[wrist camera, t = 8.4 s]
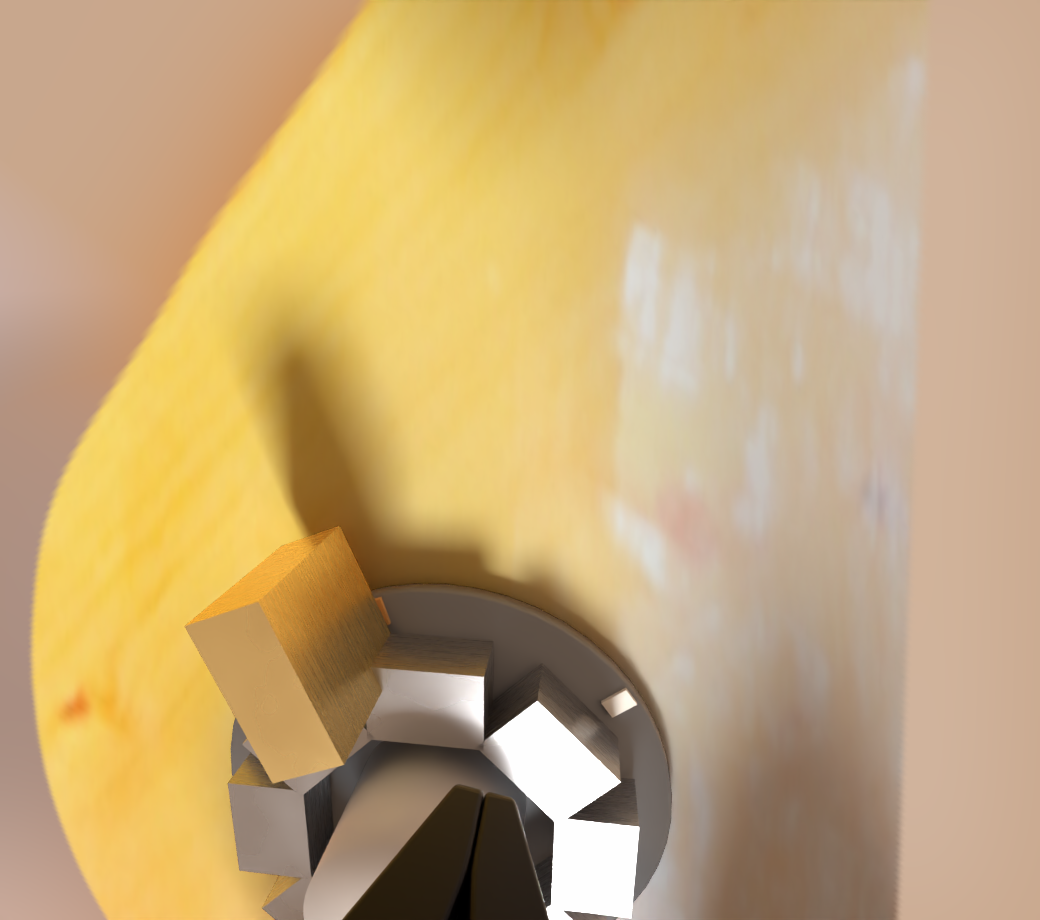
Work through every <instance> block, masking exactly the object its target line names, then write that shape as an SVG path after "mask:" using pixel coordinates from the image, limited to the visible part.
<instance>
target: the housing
mask: <svg viewBox="0 0 1040 920" xmlns="http://www.w3.org/2000/svg"><path fill="white" fill-rule="evenodd" d="M371 592H372V594H373V596H374V599H375V601H376V603H377V605H378V607H379V609H380V611H381V613H382V615H383V617H384V619H385V622H386V624H387V626H388V628H389V630H390V632H391V633H401V634H413V635H426V636H439V637H452V638H464V639H477V640H490V641H494V672H493V700H495V699H496V698H497V697H498V696H500V695H501V694H502V693H504V692H505V691H506V690H508V689H509V688H510V687H511V686H513V685H514V684H515V683H517V682H518V681H519V680H520V679H522V678H523V677H524V676H526V675H527V674H528V673H530V672H531V671H532V670H533V669H535V668H536V667H537V666H539V665H540V664H541V663H543V664H544V665H545V666H546V667H547V668H548V669H549V670H550V671H551V672H552V673H553V674H554V675H555V676H556V677H557V678H558V679H559V680H560V681H561V682H562V683H563V684H564V685H565V686H566V687H567V688H568V689H570V690H571V691H572V692H573V693H574V694H575V695H576V696H577V697H578V698H579V699H580V700H581V701H582V702H583V703H584V704H585V705H586V706H587V707H588V708H589V709H590V710H591V711H592V712H593V713H594V714H595V715H596V716H597V717H598V718H599V719H600V720H601V721H602V722H603V723H604V724H605V725H606V726H607V727H608V728H609V729H610V730H611V731H612V732H613V733H614V734H615V735H616V736H617V737H618V747H619V763H620V777H621V778H631V779H635V787H636V798H637V809H638V820H639V834H638V846H637V857H636V868H635V879H634V891H633V902H634V901H635V900H636V899H637V897H638V896H639V895H640V894H641V893H642V891H643V890H644V889H645V888H646V886H647V884H648V883H649V881H650V879H651V877H652V876H653V874H654V872H655V871H656V869H657V867H658V865H659V862H660V860H661V857H662V854H663V852H664V849H665V846H666V843H667V838H668V833H669V828H670V823H671V805H672V793H671V785H670V778H669V771H668V764H667V758H666V754H665V750H664V747H663V744H662V740H661V737H660V734H659V730H658V728H657V726H656V724H655V722H654V720H653V717H652V715H651V713H650V711H649V709H648V707H647V705H646V703H645V702H644V700H643V699H642V697H641V696H640V694H639V693H638V691H637V690H636V688H635V687H634V685H633V684H632V682H631V681H630V680H629V679H628V677H627V676H626V675H625V674H624V673H623V672H622V670H621V669H620V668H619V667H618V666H617V665H616V664H615V662H614V661H613V660H612V659H611V658H610V657H609V656H607V655H606V654H605V653H604V652H603V651H602V650H601V649H600V648H598V647H597V646H596V645H595V644H594V643H593V642H592V641H591V640H589V639H588V638H587V637H585V636H584V635H582V634H581V633H579V632H578V631H576V630H575V629H574V628H572V627H571V626H569V625H568V624H566V623H565V622H563V621H561V620H559V619H558V618H556V617H554V616H552V615H550V614H548V613H546V612H544V611H542V610H540V609H539V608H537V607H534V606H532V605H529V604H526V603H524V602H521V601H519V600H516V599H513V598H511V597H508V596H505V595H501V594H497V593H493V592H489V591H485V590H482V589H478V588H471V587H464V586H456V585H449V584H407V585H399V586H390V587H383V588H379V589H375V590H371ZM246 739H247V737H246V735H245V733H244V732H243V730H242V728H241V726H240V724H239V723H238V721H237V719H236V717H235V721H234V725H233V733H232V742H231V763H232V775H233V776H234V774H235V773H236V772H237V770H238V769H239V767H240V766H241V765H242V763H243V762H244V761H245V759H246V758H247V757H248V755H249V754H250V753H251V752H250V751H249V750H248V749H247V748H246V747H244V746H243V745H242V744H243V742H244V741H245V740H246ZM457 784H461V785H465V786H469V787H473V788H477V789H480V790H482V791H483V794H484V796H485V794H486V793H488V792H492V793H496V794H500V795H504V796H508V797H511V798H513V799H514V800H515V802H516V805H517V808H518V812H519V815H520V819H521V822H522V826H523V829H524V833H525V836H526V840H527V843H528V847H529V850H530V854H531V857H532V861H533V864H534V866H536V865H537V864H539V863H540V862H542V861H543V860H545V859H546V858H548V857H549V856H551V855H552V854H554V830H555V821H554V820H553V819H552V818H551V817H549V816H548V815H547V814H546V813H545V812H544V811H543V810H542V809H541V808H540V807H539V806H538V805H537V804H536V803H535V802H534V801H533V800H531V799H530V798H529V797H528V796H527V795H526V794H525V793H524V792H523V791H522V790H521V789H520V788H519V787H518V786H517V785H516V784H515V783H514V782H512V781H511V780H510V779H509V778H508V777H507V776H506V775H505V774H504V773H503V772H502V771H501V770H500V769H499V768H498V767H497V766H496V765H494V764H493V763H492V762H491V761H490V760H489V759H488V758H487V757H486V756H485V755H484V754H483V753H482V752H481V751H480V750H474V749H464V748H453V747H443V746H433V745H422V744H412V743H402V742H391V741H381V740H370V741H369V742H368V743H367V744H365V745H364V746H363V747H362V748H361V749H359V750H358V751H357V752H356V753H354V754H353V755H352V756H351V757H349V758H348V759H347V760H346V762H345V764H344V765H342V766H338V767H337V768H336V769H335V770H333V771H332V772H331V773H330V785H331V798H332V811H333V824H334V829H335V831H334V833H333V835H332V837H331V839H330V841H329V843H328V845H327V848H326V850H325V852H324V854H323V856H322V858H321V860H320V862H319V864H318V867H317V869H316V871H315V873H314V875H313V877H312V879H311V881H310V883H309V886H308V888H307V891H306V894H305V898H304V905H303V916H304V920H342V919H343V918H344V917H345V915H346V914H347V913H348V912H349V911H350V909H351V908H352V907H353V906H354V905H355V903H356V902H357V901H358V900H359V899H360V897H361V896H362V895H363V894H364V893H365V891H366V890H367V889H368V888H369V887H370V885H371V884H372V883H373V882H374V881H375V879H376V878H377V877H378V876H379V875H380V873H381V872H382V871H383V870H384V869H385V867H386V866H387V865H388V864H389V863H390V861H391V860H392V859H393V858H394V857H395V855H396V854H397V853H398V852H399V851H400V849H401V848H402V847H403V846H404V845H405V843H406V842H407V841H408V840H409V839H410V838H411V836H412V835H413V834H414V833H415V832H416V830H417V829H418V828H419V827H420V826H421V824H422V823H423V822H424V821H425V820H426V818H427V817H428V816H429V815H430V814H431V812H432V811H433V810H434V809H435V808H436V806H437V805H438V804H439V803H440V802H441V800H442V799H443V798H444V797H445V796H446V794H447V793H448V792H449V791H450V790H451V788H452V787H454V786H455V785H457ZM483 799H484V798H483ZM633 902H632V904H633ZM617 918H618V916H610V915H607V920H616V919H617Z"/></svg>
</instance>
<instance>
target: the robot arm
mask: <svg viewBox="0 0 1040 920" xmlns="http://www.w3.org/2000/svg"><path fill="white" fill-rule="evenodd" d="M483 798H484V799H483ZM342 920H549V916H548V913H547V909H546V906H545V903H544V899H543V896H542V892H541V889H540V885H539V882H538V878H537V875H536V871H535V868H534V864H533V861H532V857H531V854H530V850H529V847H528V843H527V840H526V836H525V833H524V829H523V826H522V822H521V819H520V815H519V812H518V808H517V805H516V802H515V800H514V799H513V798H511V797H508V796H504V795H500V794H496V793H492V792H488V793H486V794H485V796H484V794H483V791H482V790H480V789H477V788H473V787H469V786H465V785H461V784H457V785H455V786H454V787H452V788H451V790H450V791H449V792H448V793H447V794H446V796H445V797H444V798H443V799H442V800H441V802H440V803H439V804H438V805H437V806H436V808H435V809H434V810H433V811H432V812H431V814H430V815H429V816H428V817H427V818H426V820H425V821H424V822H423V823H422V824H421V826H420V827H419V828H418V829H417V830H416V832H415V833H414V834H413V835H412V836H411V838H410V839H409V840H408V841H407V842H406V843H405V845H404V846H403V847H402V848H401V849H400V851H399V852H398V853H397V854H396V855H395V857H394V858H393V859H392V860H391V861H390V863H389V864H388V865H387V866H386V867H385V869H384V870H383V871H382V872H381V873H380V875H379V876H378V877H377V878H376V879H375V881H374V882H373V883H372V884H371V885H370V887H369V888H368V889H367V890H366V891H365V893H364V894H363V895H362V896H361V897H360V899H359V900H358V901H357V902H356V903H355V905H354V906H353V907H352V908H351V909H350V911H349V912H348V913H347V914H346V915H345V917H344V918H343V919H342Z"/></svg>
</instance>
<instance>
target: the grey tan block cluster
mask: <svg viewBox="0 0 1040 920" xmlns="http://www.w3.org/2000/svg"><path fill="white" fill-rule="evenodd" d="M185 628H186V630H187V632H188V633H189V635H190V637H191V639H192V641H193V642H194V644H195V646H196V648H197V649H198V651H199V653H200V655H201V657H202V658H203V660H204V662H205V664H206V666H207V667H208V669H209V671H210V673H211V674H212V676H213V678H214V680H215V682H216V683H217V685H218V687H219V689H220V691H221V692H222V694H223V696H224V698H225V699H226V701H227V703H228V705H229V707H230V708H231V710H232V712H233V714H234V716H235V717H236V719H237V721H238V723H239V724H240V726H241V728H242V730H243V732H244V733H245V735H246V737H247V739H246V740H245V741H244V742H243V744H242V745H243V746H244V747H246V748H247V749H248V750H249V751H250V752H251V753H250V754H249V755H248V757H247V758H246V759H245V761H244V762H243V763H242V765H241V766H240V767H239V769H238V770H237V772H236V773H235V774H234V776H233V777H232V778H231V780H230V781H229V782H228V788H229V795H230V803H231V810H232V818H233V826H234V833H235V841H236V848H237V856H238V863H239V870H240V871H248V872H256V873H265V874H273V875H279V877H278V879H277V881H276V883H275V885H274V887H273V888H272V890H271V892H270V894H269V896H268V898H267V900H266V902H265V903H264V905H263V907H262V909H263V910H265V911H266V912H267V913H268V914H269V915H271V916H272V917H273V918H274V919H275V920H304V916H303V905H304V898H305V894H306V891H307V888H308V886H309V883H310V881H311V879H312V877H313V875H314V873H315V871H316V869H317V867H318V864H319V862H320V860H321V858H322V856H323V854H324V852H325V850H326V848H327V845H328V843H329V841H330V839H331V837H332V835H333V833H334V831H335V829H334V824H333V811H332V798H331V785H330V773H331V772H332V771H333V770H335V769H336V768H337V767H338V766H342V765H344V764H345V762H346V760H347V759H348V758H349V757H351V756H352V755H353V754H354V753H356V752H357V751H358V750H359V749H361V748H362V747H363V746H364V745H365V744H367V743H368V742H369V741H370V740H381V741H391V742H402V743H412V744H422V745H433V746H443V747H453V748H464V749H474V750H480V751H481V752H482V753H483V754H484V755H485V756H486V757H487V758H488V759H489V760H490V761H491V762H492V763H493V764H494V765H496V766H497V767H498V768H499V769H500V770H501V771H502V772H503V773H504V774H505V775H506V776H507V777H508V778H509V779H510V780H511V781H512V782H514V783H515V784H516V785H517V786H518V787H519V788H520V789H521V790H522V791H523V792H524V793H525V794H526V795H527V796H528V797H529V798H530V799H531V800H533V801H534V802H535V803H536V804H537V805H538V806H539V807H540V808H541V809H542V810H543V811H544V812H545V813H546V814H547V815H548V816H549V817H551V818H552V819H553V820H554V821H555V830H554V854H552V855H551V856H549V857H548V858H546V859H545V860H543V861H542V862H540V863H539V864H537V865H536V866H534V868H535V871H536V875H537V878H538V882H539V885H540V889H541V892H542V896H543V899H544V903H545V906H546V909H547V913H548V916H549V920H607V915H610V916H618V917H627V918H631V913H632V902H633V891H634V879H635V868H636V857H637V846H638V834H639V820H638V809H637V798H636V787H635V779H631V778H621V777H620V763H619V747H618V737H617V736H616V735H615V734H614V733H613V732H612V731H611V730H610V729H609V728H608V727H607V726H606V725H605V724H604V723H603V722H602V721H601V720H600V719H599V718H598V717H597V716H596V715H595V714H594V713H593V712H592V711H591V710H590V709H589V708H588V707H587V706H586V705H585V704H584V703H583V702H582V701H581V700H580V699H579V698H578V697H577V696H576V695H575V694H574V693H573V692H572V691H571V690H570V689H568V688H567V687H566V686H565V685H564V684H563V683H562V682H561V681H560V680H559V679H558V678H557V677H556V676H555V675H554V674H553V673H552V672H551V671H550V670H549V669H548V668H547V667H546V666H545V665H544V664H543V663H541V664H540V665H539V666H537V667H536V668H535V669H533V670H532V671H531V672H530V673H528V674H527V675H526V676H524V677H523V678H522V679H520V680H519V681H518V682H517V683H515V684H514V685H513V686H511V687H510V688H509V689H508V690H506V691H505V692H504V693H502V694H501V695H500V696H498V697H497V698H496V699H495V700H493V672H494V641H490V640H477V639H464V638H452V637H439V636H426V635H413V634H401V633H391V632H390V630H389V628H388V626H387V624H386V622H385V619H384V617H383V615H382V613H381V611H380V609H379V607H378V605H377V603H376V601H375V599H374V596H373V594H372V592H371V590H370V588H369V586H368V584H367V582H366V580H365V578H364V576H363V573H362V571H361V569H360V567H359V565H358V563H357V561H356V559H355V557H354V555H353V553H352V550H351V548H350V546H349V544H348V542H347V540H346V538H345V536H344V534H343V532H342V530H341V527H340V526H337V527H334V528H331V529H328V530H326V531H323V532H320V533H317V534H314V535H311V536H308V537H306V538H303V539H300V540H297V541H294V542H291V543H288V544H286V545H283V546H281V547H280V548H279V549H277V550H276V551H275V552H274V553H272V554H271V555H270V556H269V557H268V558H266V559H265V560H264V561H263V562H262V563H260V564H259V565H258V566H257V567H256V568H254V569H253V570H252V571H251V572H249V573H248V574H247V575H246V576H245V577H243V578H242V579H241V580H240V581H239V582H237V583H236V584H235V585H234V586H232V587H231V588H230V589H229V590H228V591H226V592H225V593H224V594H223V595H222V596H220V597H219V598H218V599H217V600H216V601H214V602H213V603H212V604H211V605H209V606H208V607H207V608H206V609H205V610H203V611H202V612H201V613H200V614H199V615H197V616H196V617H195V618H194V619H193V620H191V621H190V622H189V623H188V624H186V625H185Z"/></svg>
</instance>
